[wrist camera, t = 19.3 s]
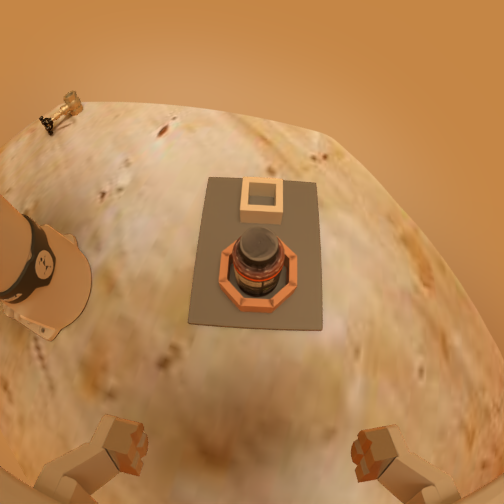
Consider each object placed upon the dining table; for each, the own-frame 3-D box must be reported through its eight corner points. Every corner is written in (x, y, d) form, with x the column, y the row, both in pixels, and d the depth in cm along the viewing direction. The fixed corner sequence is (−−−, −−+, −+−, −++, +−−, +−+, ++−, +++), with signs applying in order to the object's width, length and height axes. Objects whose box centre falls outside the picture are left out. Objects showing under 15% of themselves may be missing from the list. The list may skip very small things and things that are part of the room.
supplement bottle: (252, 249, 41) (253, 206, 30) (287, 272, 39) (300, 236, 29) (226, 281, 39) (218, 247, 28) (262, 307, 37) (266, 281, 27)
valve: (79, 104, 60) (46, 131, 56) (71, 87, 54) (36, 115, 50) (87, 110, 58) (52, 138, 54) (79, 92, 52) (42, 121, 48)
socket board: (320, 330, 37) (329, 325, 33) (189, 323, 37) (181, 317, 33) (315, 186, 47) (320, 169, 43) (209, 180, 47) (206, 163, 43)
